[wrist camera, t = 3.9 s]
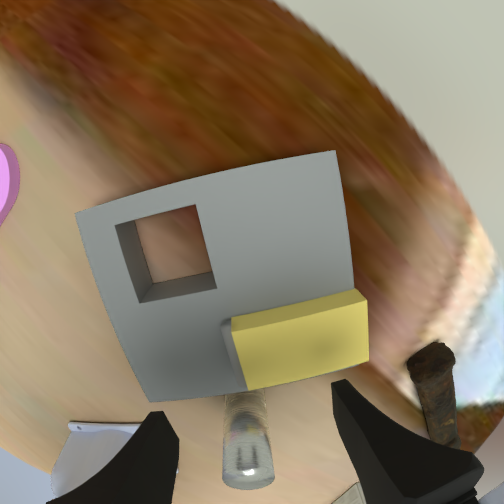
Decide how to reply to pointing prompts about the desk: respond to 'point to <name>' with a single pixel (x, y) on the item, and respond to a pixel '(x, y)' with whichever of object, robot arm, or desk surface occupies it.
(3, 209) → the bracket
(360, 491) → the light bulb box
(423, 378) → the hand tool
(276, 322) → the latch flap
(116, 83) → the desk surface
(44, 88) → the desk surface
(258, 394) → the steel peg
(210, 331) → the plate
